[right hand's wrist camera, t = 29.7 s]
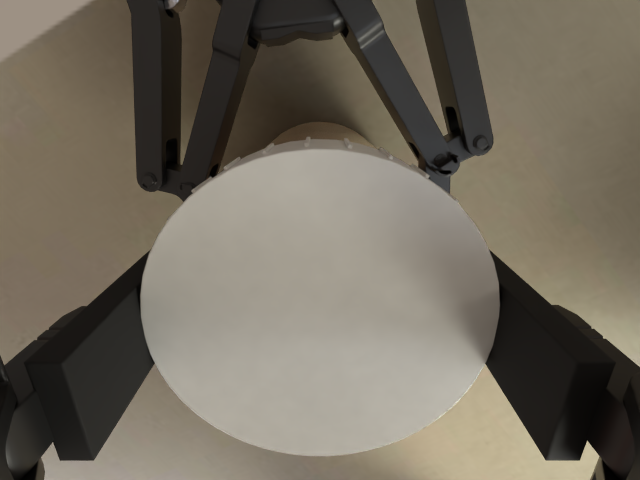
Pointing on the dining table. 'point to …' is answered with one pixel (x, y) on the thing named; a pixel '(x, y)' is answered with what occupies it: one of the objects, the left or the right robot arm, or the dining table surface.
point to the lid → (319, 299)
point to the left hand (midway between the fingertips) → (328, 293)
